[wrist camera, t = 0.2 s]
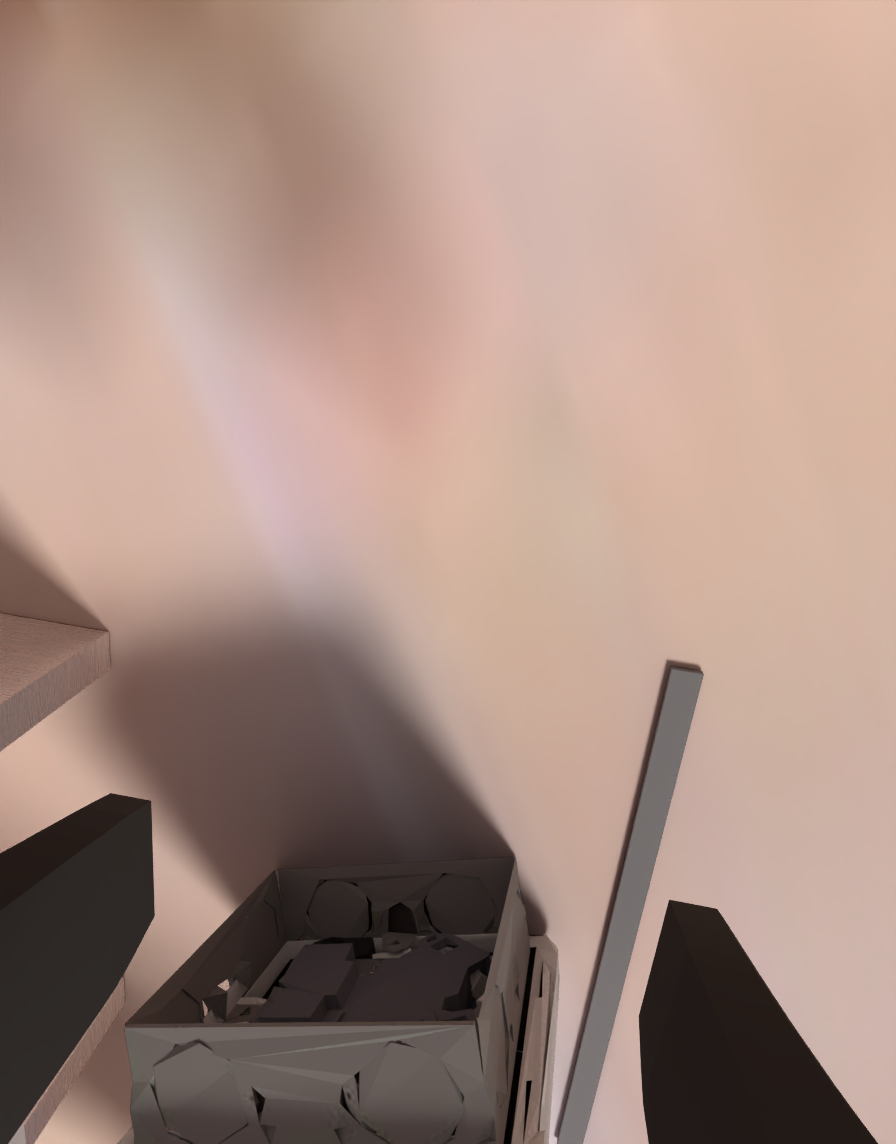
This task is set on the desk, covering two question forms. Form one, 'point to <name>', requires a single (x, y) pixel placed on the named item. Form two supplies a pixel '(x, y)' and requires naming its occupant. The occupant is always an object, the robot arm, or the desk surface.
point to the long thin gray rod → (631, 895)
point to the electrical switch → (356, 1016)
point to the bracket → (3, 714)
